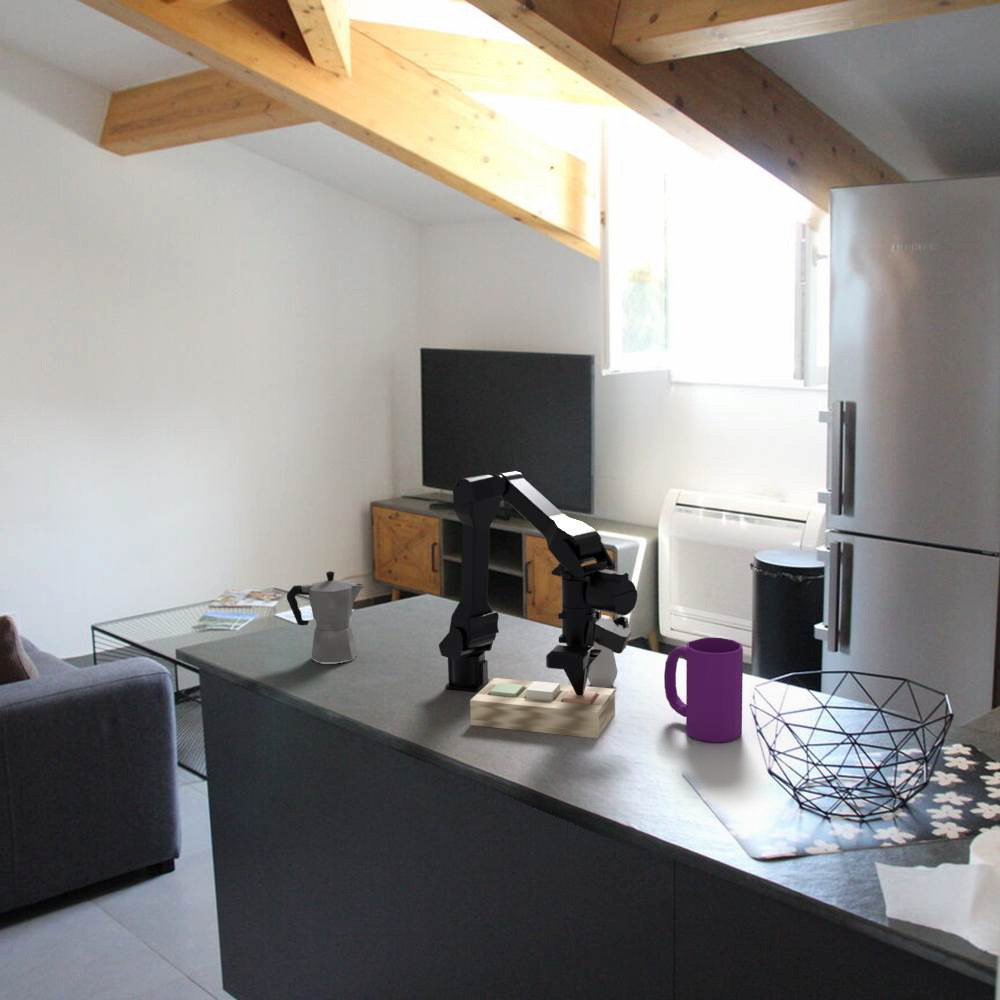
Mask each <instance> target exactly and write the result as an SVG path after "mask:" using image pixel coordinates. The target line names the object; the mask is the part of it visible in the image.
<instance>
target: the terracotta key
mask: <svg viewBox="0 0 1000 1000" xmlns="http://www.w3.org/2000/svg"><path fill="white" fill-rule="evenodd" d="M596 699H597V692H596V691H584V694H583V695H576V693H575V691H574V689H571V690H570V691H569V692H568V693H567V694H566V695H565V697H564V698H563V702H568V703H579V704H589V705H592V704H593V702H594V701H595V700H596Z"/></svg>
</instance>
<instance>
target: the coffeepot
mask: <svg viewBox="0 0 1000 1000" xmlns="http://www.w3.org/2000/svg"><path fill="white" fill-rule="evenodd" d="M325 575H326V578H327V580H322V581H318V582H314V583H312V584H302V585H299V584H297V585H293V586H292V587H291V588H290V589H289V591H288V592H287V594H286V600H287V602H288V604H289V607H290V609H291V611H292V613H293V615H294V616H293V617H294V619H295V621H296V624H297V625H298V626H308V624H309V622H310V621H309V620H305V619H303V618H302V612H301V611H302V610H301V609H300V608H299V604H298V601H297V598H296V597H297V596H298V595H302V596H308V598H309V603H310V607H311V612H312V617H313V619H314V620H315V628H314V631H313V632H314V633H313V640H312V650H311V656H310V657H311V658H313V659H315V660H317V661H319V662H341V661H345V660H346V661H347V660H351V659H353V658H354V657H355V656H356V655H357V656H358V651H357V646H356V642H355V638H354V634H353V628H352V626H351V625H350V624H351V623H350V618H351V617H352V615H353V606H354V603H355V601H356V599H357V598H358V595H359V593H360V592H361V590H362V589H364V588H365V586H364V584H362V583H358V582H350V581H347V580H339V579H337V580H336V579H334V578H335V571H330V570H329V571H326V573H325ZM357 656H356V657H357Z"/></svg>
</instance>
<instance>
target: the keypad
mask: <svg viewBox="0 0 1000 1000" xmlns="http://www.w3.org/2000/svg"><path fill="white" fill-rule="evenodd" d="M534 681H535V680H534ZM534 681H532V680H521V679H520V680H519V679H511V678H500V677H493V679H491V680H490V681H488V682H487V683H486V684H485V685H484V686H483V687H482V688H481V689H480V690H479V691H477V693H476V694H475V695H474V696H473V697H472V698H471V699H469V706H470V707H469V708H470V726H476V727H477V726H478V727H486V728H494V729H495V728H496V729H505V730H514V731H515V730H516V731H522V732H525V731H526V732H535V733H543V734H553V735H554V734H555V735H561V736H562V735H563V736H571V737H582V738H591V739H598V738H599V737H600V736H601V734H602V733H603V731H604V730H605V729H606V728H607V725H608V724H609V723H610V722H611V720H612V719H613V717H615V714H616V688H612V687H608V688H600V687H593V686H587V685H586V686H585V691H596V692H597V699H596V700H595V701H594V702H593V704H592V705H589V704H579V703H568V702H563V698H564V697H565V695H566V694H567V693H568V692H569V691H570V690H571V689H573V687H572V685H571V684H565V683H560V695H559V696H558V697H557V698H556V699H555V700H554V701H548V700H537V699H527V698H526V689H527V688H528V687H529V686H530V685H531V684H532V683H533V682H534ZM498 683H508V684H519V685H524V691H523V692H522V693H521V694H520V695H519V696H518V697H517V698H516V697H506V696H495V695H490V691H491V690H492V689H493V688H494V687H495V686H496V685H497V684H498Z"/></svg>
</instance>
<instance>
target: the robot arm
mask: <svg viewBox="0 0 1000 1000" xmlns="http://www.w3.org/2000/svg"><path fill="white" fill-rule="evenodd" d="M452 498H453V499H452V500H453V509H454V512H455V514H456V516H457V519H459V522H460V523H461V557H460V558H461V562H460V594H459V602H458V604H457V605H456V606H455V607H456V608H455V609H454V611H453V613H452V615H451V619H450V625H449V632H447V634H446V635H445V636H444V638H443V639H442V640H441V641H440V642H439V643H438V650H439V652H440V656H441V657H444V658H447V671H448V672H447V673H448V675H447V677H448V683H446V684H445V685H444V688H445V689H449V690H458V691H470V692H479V691H480V690H482V689H483V688H484V687H485V686H486V685H487V684H488V683H489V682H490V681H489V680H490V679H489V669H488V668H489V667H488V660H487V659H486V654H485V653H486V652H490V651H492V648H493V643H494V641H495V640H496V636H497V634H498V633H500V632H499V627H498V623H499V622H498V621H499V618H500V617H499V612H497V611H493V609H492V607H491V605H490V604H489V601H488V595H489V593H488V592H489V591H488V590H489V589H488V588H489V566H490V565H489V564H490V563H489V561H490V560H489V559H490V534H491V533H490V531H491V524H492V523H493V521H494V519H495V518H496V516H497V514H498V512H499V510H500V504H501V500H502V499H504V501H505V502H507V503H508V504H509V505H510V506H511V507H512V508H513V509H515V511H516V512H518V513H519V514H520V515H521V516H522V517H523V518H524V519H525V520H526V521H527V522H528V523H530V524H531V526H532V527H534V528H535V529H536V530H537V531H538V532H539V533H540V534H541V535H542V536H543V537H544V538H545V540H546V545H547V548H548V549H547V550H548V551H549V552H550V553H551V554H552V556H553V557H554V559H556V561H557V562H558V565H557V566H556V567H554V568H553V569H552V570H551V572H550V573H551V575H553V576H556V577H561V578H560V579H561V580H560V581H561V582H560V583H561V590H560V591H561V610H560V611H559V612H558V620H561V634H560V635H559V636H558V643H559V644H556V645H555V646H554V648H553V649H552V650H550V651H549V652H548V653H547V654H546V656H545V661H546V662H545V664H546V666H545V667H546V668H548V669H554V670H555V669H556V670H563V672H564V673H565V675H566V677H567V679H568V680H569V683H570V685H572V687H573V689H574V691H575V693H576V695H583V694H584V691H585V686H587V682H588V674H589V670H590V666H591V663H592V662H593V661H594V660H595V659H596V657H597V656H598V655H599V654H600V653H601V650H597V649H593V646H594V645H595V642H596V643H597V644H599V645H602V646H604V647H606V648H608V649H611V650H612V652H614V654H622V653H623V651H624V650H625V649H626V647H627V645H628V643H629V640H630V636H631V635H632V627H631V626H630V625H629V618H628V617H627V615H629V614H631V612H632V611H633V610H634V609H635V606H636V604H637V601H638V590H637V588H636V586H635V584H634V582H633V581H632V580H629V578H630V577H629V573H628V572H627V571H615V569H616V566H615V564H614V563H613V561H612V558H611V556H610V555H609V553H608V551H607V549H606V548H605V545H604V543H603V542H602V536H601V535H600V533H598V531H597V530H595V529H594V528H593V527H591V526H590V525H588V524H587V523H585V522H583V521H581V520H577V519H574V518H571V517H569V516H567V515H566V514H565V513H563V512H562V511H561V510H560V509H559V508H557V507H556V506H555V505H554V504H553V503H551V502H550V500H548V499H547V498H546V497H545V496H544V495H543V494H542V493H541V492H540V491H539V490H537V489H536V488H535V487H534V486H533V485H531V483H530V482H528V481H527V480H526V478H525V476H524V475H523V474H522V473H521V472H519V471H516V470H514V471H512V470H511V471H508V472H501V473H500V472H499V473H498V474H496V475H494V476H493V475H490V474H483V475H477V476H470V477H469V476H468V477H464V478H460V479H459V480H457V482H456V483H455V484H454V486H453V487H452ZM501 498H502V499H501ZM592 562H593V563H592ZM587 563H589V564H587ZM583 564H585V565H583ZM602 612H606V613H611V614H615V615H618V616H617V617H615V619H613V618H612V619H613V621H611V620H612V619H609V620H607V619H604V618H601V615H602ZM562 644H563V645H562ZM564 644H566V645H564Z"/></svg>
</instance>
